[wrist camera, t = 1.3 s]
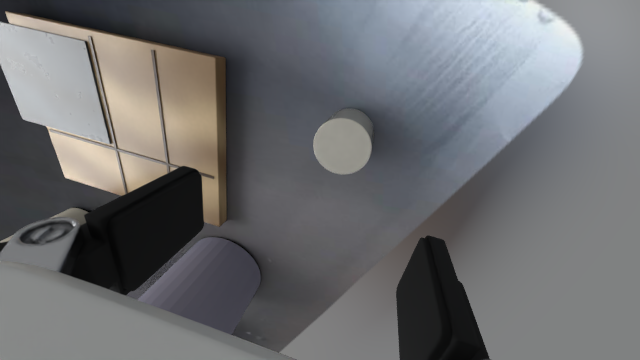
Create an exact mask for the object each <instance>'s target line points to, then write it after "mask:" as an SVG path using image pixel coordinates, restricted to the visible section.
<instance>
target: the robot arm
mask: <svg viewBox="0 0 640 360" xmlns="http://www.w3.org/2000/svg"><path fill="white" fill-rule="evenodd" d="M84 217H85V220H86V223H84V224H83V225H80V223H79V221H78V220H76V219H74V218H70V217H55V218H48V219H44V220H41V221H37V222H34V223H32V224H29V225H27V226H25V227H24V228H22V229H20V230H19V231H17V232H16V233H15V234H14V235H13V236H12V238H11V239H10V240H9V241H7V242H1V243H0V360H296V359H294V358H291V357H288V356H286V355H283V354H281V353H278V352H275V351H273V350H270V349H267V348H265V347H262V346H260V345H257V344H254V343H252V342H249V341H246V340H244V339H241V338H238V337H236V336H233V335H230V334H228V333H225V332H222V331H220V330H217V329H214V328H212V327H209V326H206V325H204V324H201V323H198V322H196V321H193V320H190V319H188V318H185V317H182V316H179V315H177V314H174V313H171V312H169V311H166V310H163V309H161V308H158V307H155V306H152V305H150V304H147V303H144V302H142V301H139V300H136V299H133V298H131V297H128V296H126V295H127V294H128V293H129V292H130V291H134V290H136V289H137V288H138V287H140V286H141V285H142V284H143V283H144V282H145V281H146V280H147V279H148V278H149V277H151V276H152V275H153V274H154V273H155V272H156V271H157V270H158V269H159V268H160V267H162V266H163V265H164V264H165V263H166V262H167V261H168V260H169V259H170V258H172V257H173V256H174V255H175V254H176V253H177V252H178V251H179V250H180V249H181V248H183V247H184V246H185V245H186V244H187V243H188V242H189V241H190V240H191V239H193V238H194V237H195V236H196V235H197V234H198V233H199V232H200V231H201V230H202V228H203V226H204V215H203V193H202V176H201V174H199V171H198V170H197V169H194V168H190V167H187V166H181V167H179V168H177V169H175V170H173V171H171V172H169V173H167V174H165V175H163V176H161V177H159V178H157V179H155V180H153V181H151V182H149V183H147V184H145V185H143V186H141V187H139V188H137V189H135V190H133V191H131V192H129V193H127V194H125V195H123V196H121V197H119V198H117V199H115V200H113V201H111V202H109V203H107V204H105V205H103V206H101V207H99V208H97V209H95V210H93V211H91V212H89V213H87V214H85V215H84ZM396 298H397V316H398V335H399V352H400V360H490V359H489V356H488V353H487V350H486V348H485V345H484V342H483V339H482V336H481V334H480V331H479V328H478V325H477V322H476V320H475V317H474V314H473V311H472V309H471V306H470V303H469V300H468V297H467V295H466V292H465V289H464V287H463V285H462V283H461V282H460V281H458V279H457V276H456V273H455V270H454V267H453V264H452V262H451V259H450V256H449V253H448V250H447V247H446V244H445V241H444V240H442V239H439V238H435V237H432V236H426V237H425V238H420V240H419V242H418V244H417V246H416V248H415V250H414V252H413V254H412V256H411V259H410V261H409V263H408V265H407V267H406V269H405V271H404V273H403V275H402V278H401V280H400V282H399V284H398V287H397V292H396Z"/></svg>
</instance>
